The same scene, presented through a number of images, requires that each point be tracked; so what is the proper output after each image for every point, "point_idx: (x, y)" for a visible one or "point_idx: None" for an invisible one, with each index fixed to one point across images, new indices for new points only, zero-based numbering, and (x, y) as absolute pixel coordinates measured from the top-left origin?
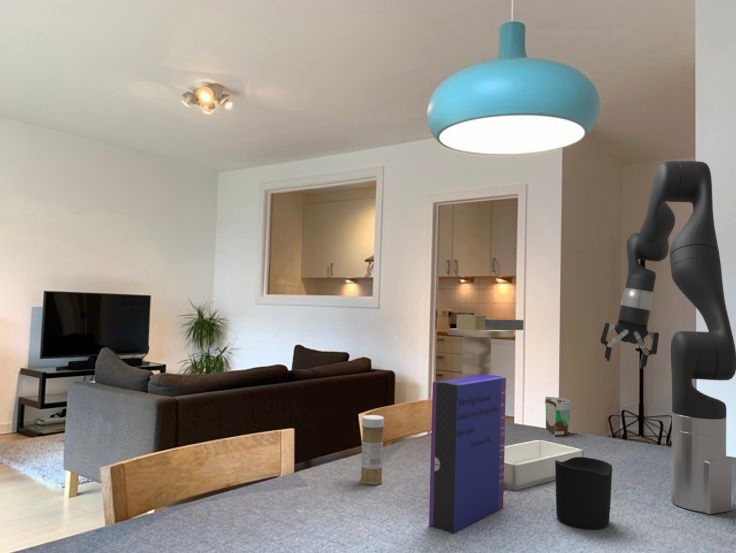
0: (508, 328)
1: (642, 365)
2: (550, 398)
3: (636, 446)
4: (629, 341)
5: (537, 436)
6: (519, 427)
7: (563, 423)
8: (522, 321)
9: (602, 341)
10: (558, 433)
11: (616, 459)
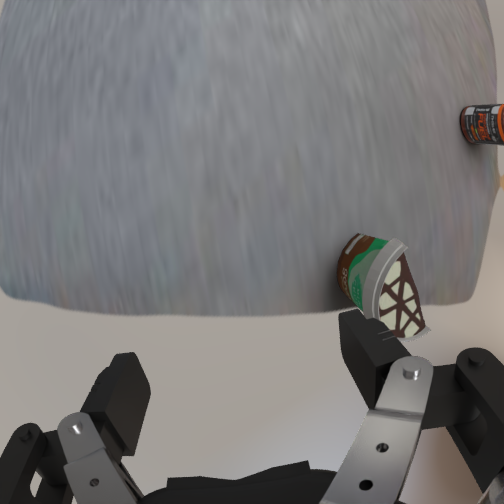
0: None
1: (116, 361)
2: (419, 333)
3: (171, 267)
4: (232, 486)
5: (387, 212)
6: (424, 278)
7: (359, 254)
8: None
9: (479, 355)
10: (355, 240)
11: (189, 80)
